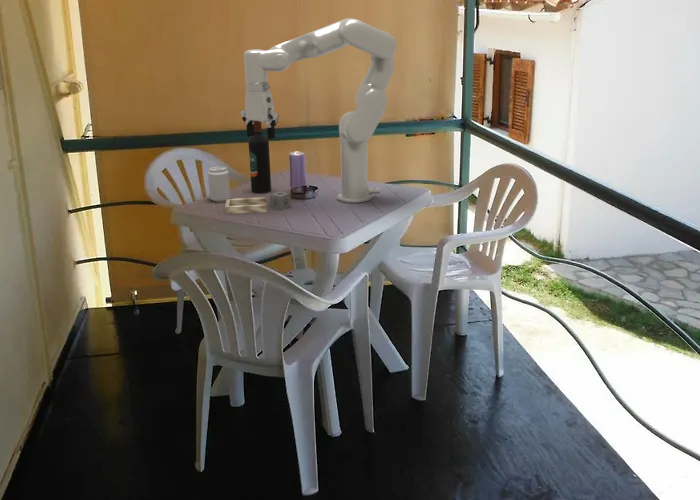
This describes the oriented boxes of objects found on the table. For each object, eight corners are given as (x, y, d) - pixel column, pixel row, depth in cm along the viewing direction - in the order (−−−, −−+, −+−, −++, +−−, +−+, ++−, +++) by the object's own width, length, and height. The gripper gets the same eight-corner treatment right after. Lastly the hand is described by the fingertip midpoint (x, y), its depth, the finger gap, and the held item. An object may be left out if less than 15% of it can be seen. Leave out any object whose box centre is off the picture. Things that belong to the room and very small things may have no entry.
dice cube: (290, 206, 258) (289, 193, 256) (281, 210, 254) (280, 196, 252) (279, 205, 261) (278, 191, 259) (270, 208, 257) (269, 194, 255)
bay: (266, 204, 262) (266, 197, 261) (267, 212, 252) (266, 205, 251) (227, 205, 260) (226, 199, 259) (225, 214, 251) (225, 207, 250)
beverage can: (303, 194, 274) (302, 155, 268) (288, 193, 275) (286, 154, 270) (307, 190, 279) (306, 151, 274) (292, 189, 280) (291, 151, 275)
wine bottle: (268, 193, 275) (264, 114, 265) (249, 193, 276) (244, 113, 266) (273, 188, 282) (269, 110, 272) (254, 188, 283) (249, 110, 273)
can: (216, 203, 263) (214, 171, 259) (206, 199, 269) (203, 167, 265) (234, 199, 268) (232, 167, 264) (224, 195, 273) (221, 164, 269)
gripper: (283, 87, 244) (287, 137, 250) (246, 84, 254) (250, 133, 260) (268, 90, 239) (272, 141, 244) (231, 87, 248) (235, 137, 254)
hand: (261, 137), depth 252 cm, fingers open, 9 cm apart
